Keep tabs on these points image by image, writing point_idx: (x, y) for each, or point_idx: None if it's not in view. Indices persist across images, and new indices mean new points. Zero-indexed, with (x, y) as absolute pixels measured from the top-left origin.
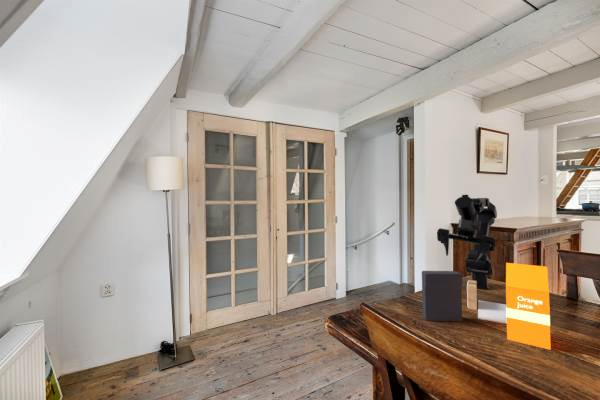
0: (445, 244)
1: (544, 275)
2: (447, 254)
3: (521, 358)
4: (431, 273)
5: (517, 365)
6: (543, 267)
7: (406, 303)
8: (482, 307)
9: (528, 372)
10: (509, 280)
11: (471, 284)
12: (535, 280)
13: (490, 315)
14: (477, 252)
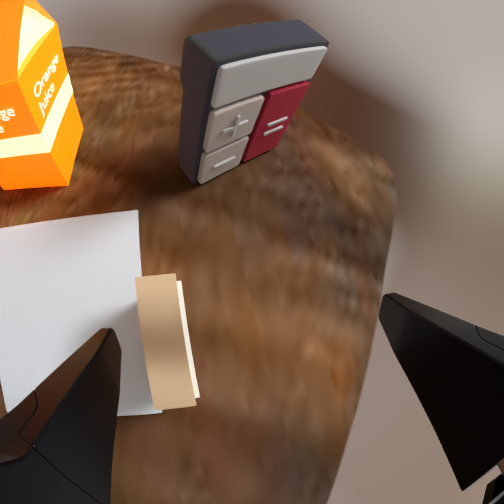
0: (486, 332)
1: None
2: (384, 295)
3: (80, 80)
4: (287, 20)
5: (93, 62)
6: None
7: (351, 218)
8: (132, 329)
9: (85, 56)
10: (42, 18)
11: (162, 311)
12: None
13: (103, 255)
14: (72, 388)
